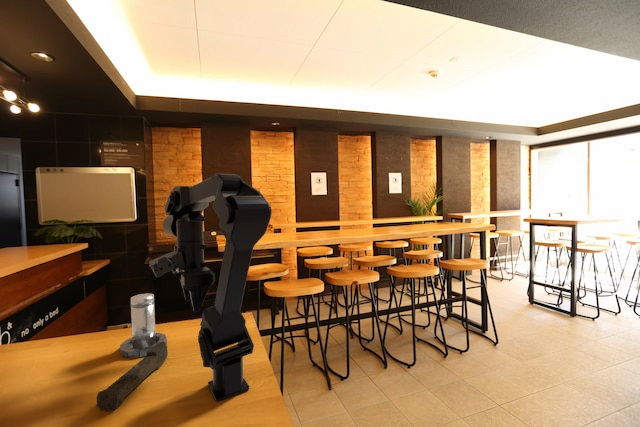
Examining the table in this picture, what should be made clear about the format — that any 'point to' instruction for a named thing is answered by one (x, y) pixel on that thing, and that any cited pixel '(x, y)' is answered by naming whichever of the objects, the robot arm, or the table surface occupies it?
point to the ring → (139, 352)
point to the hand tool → (132, 378)
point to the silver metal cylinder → (143, 320)
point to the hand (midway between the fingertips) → (192, 305)
